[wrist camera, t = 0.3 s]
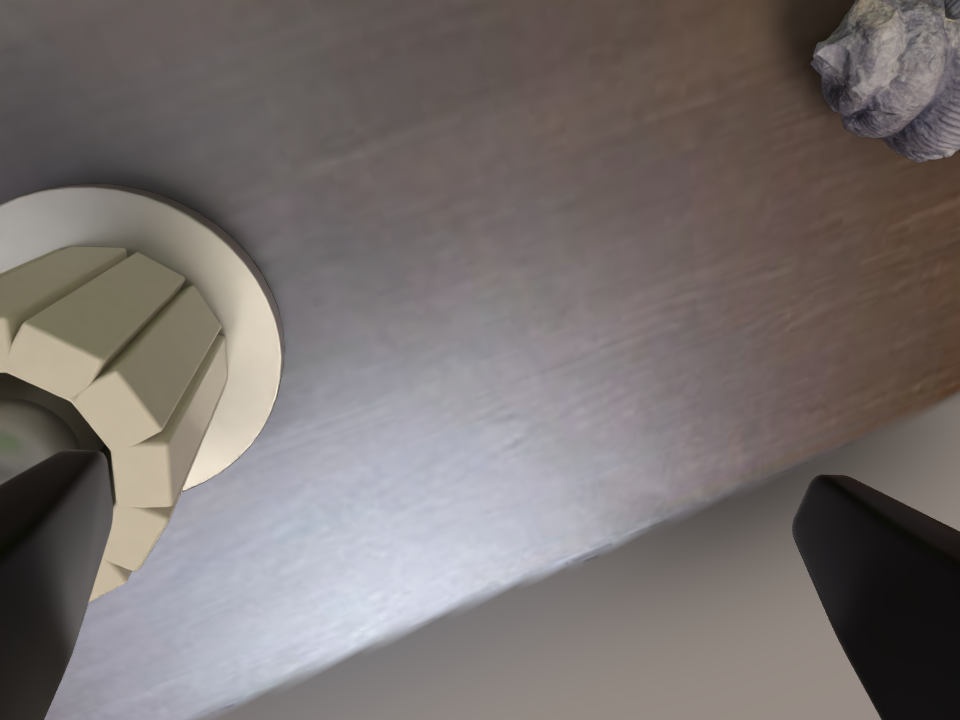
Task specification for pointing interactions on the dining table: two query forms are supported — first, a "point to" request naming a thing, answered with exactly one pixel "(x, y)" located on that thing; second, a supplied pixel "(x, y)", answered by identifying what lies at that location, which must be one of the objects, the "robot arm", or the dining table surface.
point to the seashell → (897, 74)
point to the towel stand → (205, 264)
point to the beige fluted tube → (120, 376)
